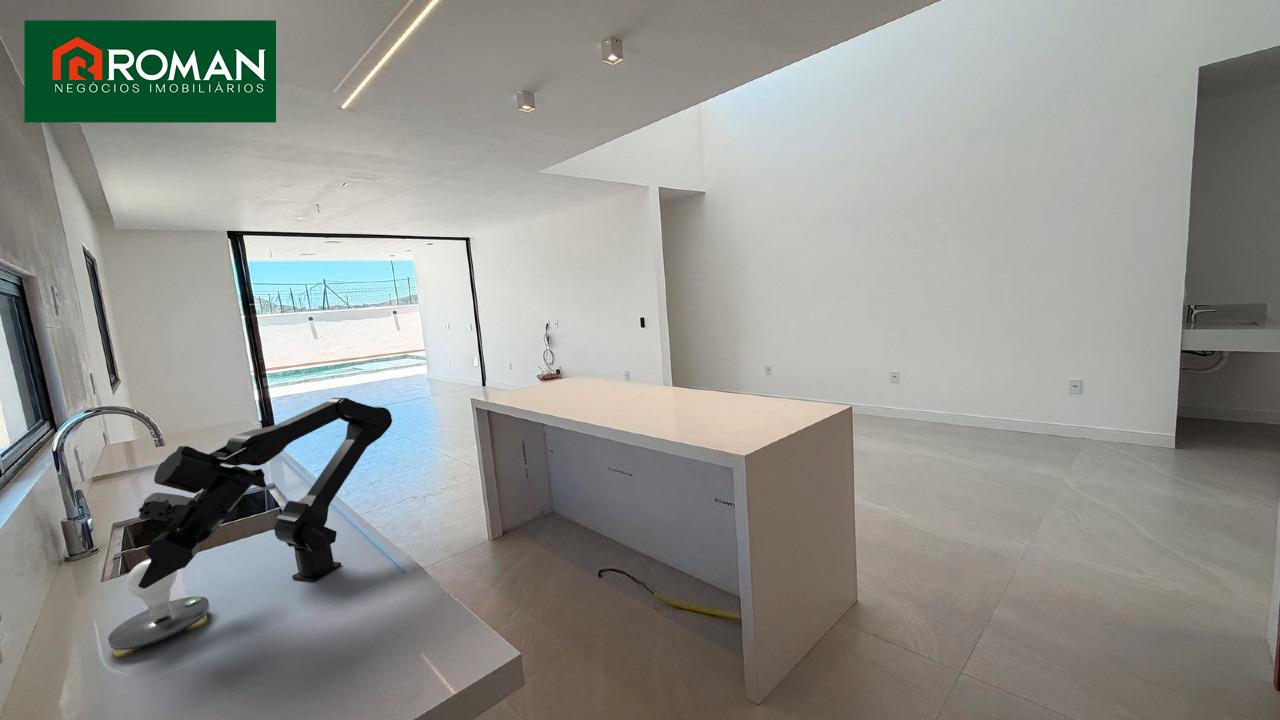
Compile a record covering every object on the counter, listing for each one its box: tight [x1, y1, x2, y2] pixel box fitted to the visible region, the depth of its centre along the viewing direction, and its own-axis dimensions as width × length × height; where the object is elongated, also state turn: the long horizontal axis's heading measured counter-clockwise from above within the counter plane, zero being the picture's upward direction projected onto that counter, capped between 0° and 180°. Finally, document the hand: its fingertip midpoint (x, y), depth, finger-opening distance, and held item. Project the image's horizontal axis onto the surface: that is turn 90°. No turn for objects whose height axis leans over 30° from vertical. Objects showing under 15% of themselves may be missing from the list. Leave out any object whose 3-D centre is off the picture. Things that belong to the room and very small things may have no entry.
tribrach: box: [107, 596, 210, 659], centre depth 90 cm, size 13×13×3 cm
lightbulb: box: [126, 558, 178, 620], centre depth 89 cm, size 6×6×11 cm
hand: (153, 574), depth 89 cm, fingers open, 9 cm apart
